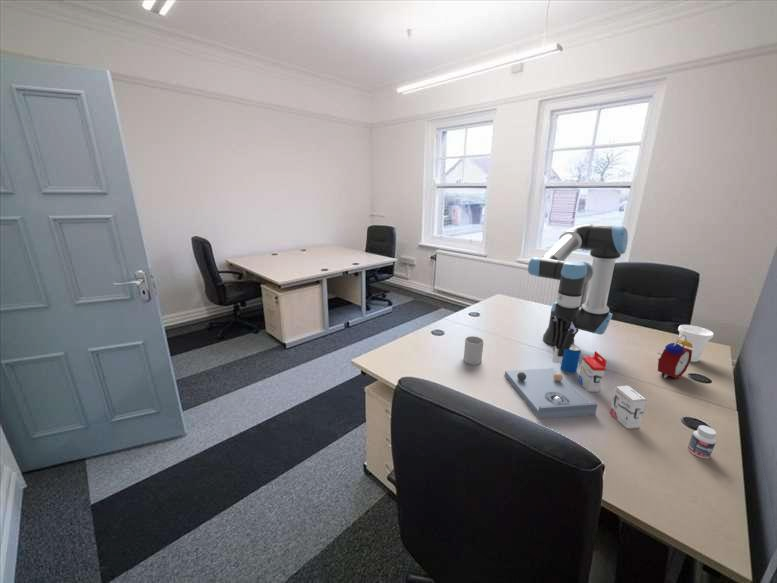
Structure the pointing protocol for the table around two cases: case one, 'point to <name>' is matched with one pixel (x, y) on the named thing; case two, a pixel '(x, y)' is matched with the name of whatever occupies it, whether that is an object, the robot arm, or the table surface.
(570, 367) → the beverage can
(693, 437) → the pill bottle
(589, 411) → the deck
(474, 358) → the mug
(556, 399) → the steel ball
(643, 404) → the ink box
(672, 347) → the alarm clock
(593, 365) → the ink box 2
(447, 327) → the table surface
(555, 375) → the terracotta ball
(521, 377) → the rubber ball
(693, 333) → the cup
